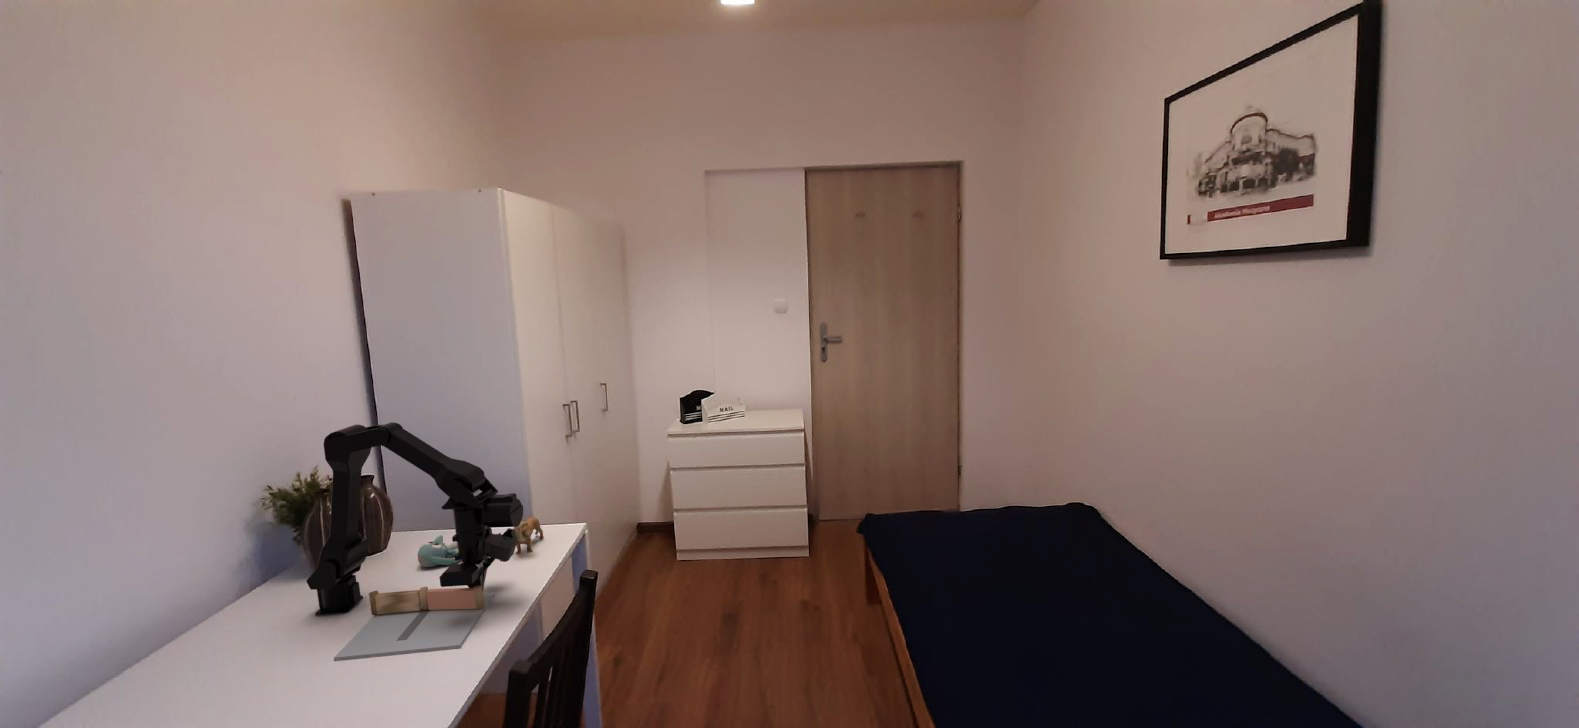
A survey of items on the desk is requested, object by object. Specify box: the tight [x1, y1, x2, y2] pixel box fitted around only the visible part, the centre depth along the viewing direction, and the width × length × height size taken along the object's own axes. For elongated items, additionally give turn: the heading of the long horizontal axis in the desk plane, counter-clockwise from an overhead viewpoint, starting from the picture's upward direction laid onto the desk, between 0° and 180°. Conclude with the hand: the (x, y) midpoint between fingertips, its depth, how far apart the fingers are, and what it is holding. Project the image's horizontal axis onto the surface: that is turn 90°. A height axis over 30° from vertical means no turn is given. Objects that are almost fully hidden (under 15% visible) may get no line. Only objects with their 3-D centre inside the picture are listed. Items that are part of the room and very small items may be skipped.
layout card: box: [333, 592, 496, 661], centre depth 128 cm, size 22×20×1 cm
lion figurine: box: [512, 516, 545, 555], centre depth 163 cm, size 15×5×9 cm, turn 10°
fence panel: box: [419, 585, 484, 610], centre depth 132 cm, size 13×2×4 cm, turn 89°
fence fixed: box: [368, 589, 422, 616], centre depth 131 cm, size 10×2×4 cm, turn 97°
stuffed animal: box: [417, 535, 460, 568], centre depth 157 cm, size 11×7×12 cm
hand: (479, 596), depth 135 cm, fingers closed
